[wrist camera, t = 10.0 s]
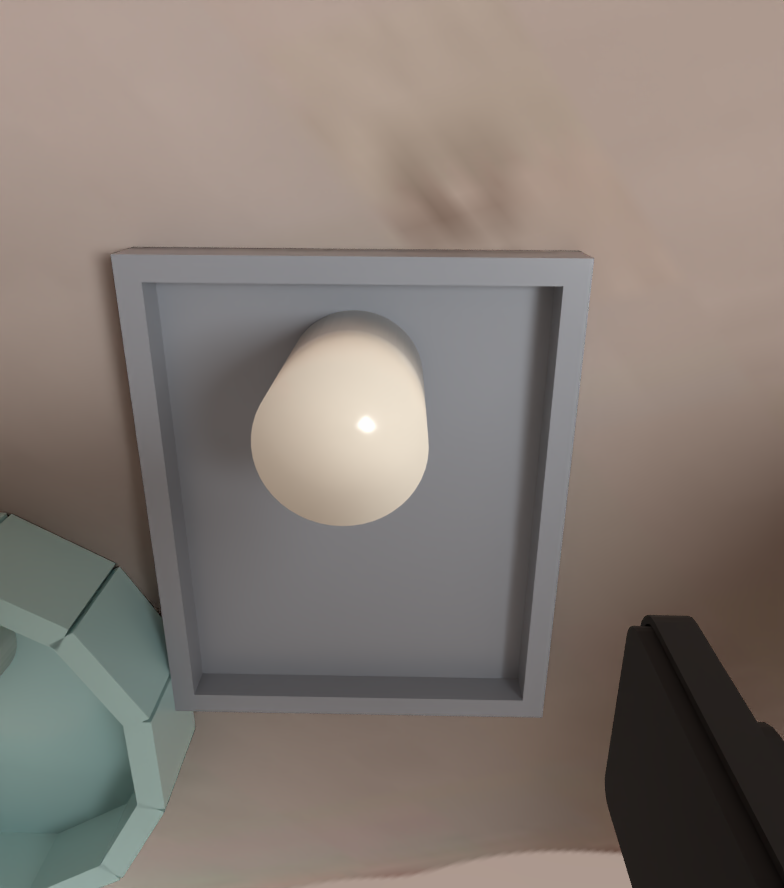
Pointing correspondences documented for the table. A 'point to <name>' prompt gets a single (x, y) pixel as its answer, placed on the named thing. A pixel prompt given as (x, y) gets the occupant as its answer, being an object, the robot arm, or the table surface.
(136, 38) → the table surface
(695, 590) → the table surface
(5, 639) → the cream egg
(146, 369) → the parts tray
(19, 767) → the bowl
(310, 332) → the pebble
